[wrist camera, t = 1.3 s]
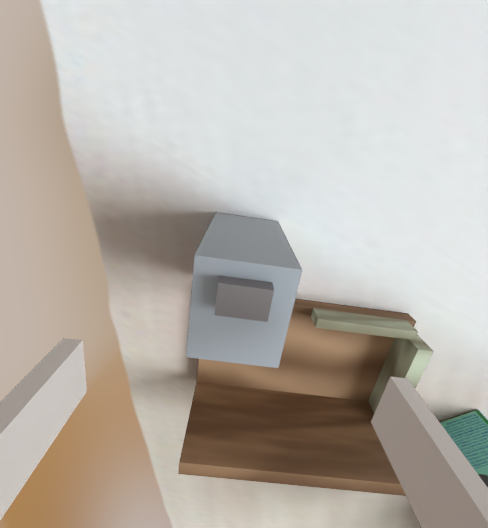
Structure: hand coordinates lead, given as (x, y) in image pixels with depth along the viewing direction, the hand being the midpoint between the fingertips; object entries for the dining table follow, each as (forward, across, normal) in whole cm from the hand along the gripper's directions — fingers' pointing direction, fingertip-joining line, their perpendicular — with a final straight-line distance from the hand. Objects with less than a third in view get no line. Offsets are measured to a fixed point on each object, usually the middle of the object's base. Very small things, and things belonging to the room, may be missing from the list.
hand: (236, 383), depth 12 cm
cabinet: (+17, 0, 0) cm, 17 cm away
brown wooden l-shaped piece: (+17, +8, -11) cm, 22 cm away
